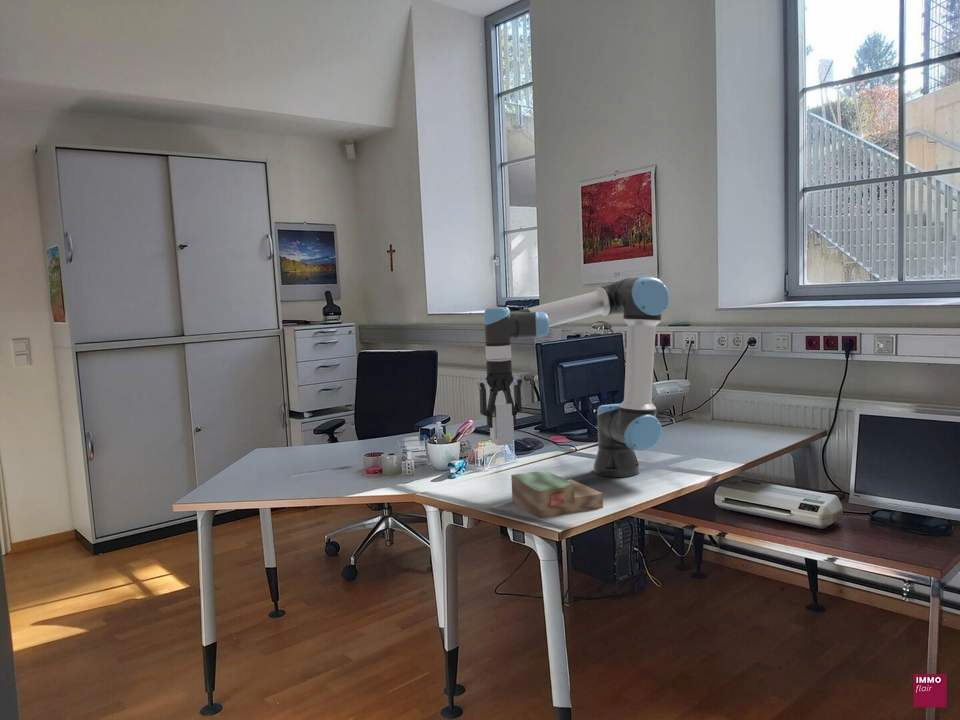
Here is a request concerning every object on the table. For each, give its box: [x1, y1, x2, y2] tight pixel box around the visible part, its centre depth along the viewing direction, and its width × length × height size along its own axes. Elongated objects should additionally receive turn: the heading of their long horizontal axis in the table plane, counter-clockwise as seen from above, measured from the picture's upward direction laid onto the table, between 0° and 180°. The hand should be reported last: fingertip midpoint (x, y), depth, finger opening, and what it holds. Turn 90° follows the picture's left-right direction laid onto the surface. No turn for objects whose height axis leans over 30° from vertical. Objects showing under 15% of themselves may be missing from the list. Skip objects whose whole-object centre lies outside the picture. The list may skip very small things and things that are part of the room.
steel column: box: [490, 401, 514, 446], centre depth 217 cm, size 5×5×12 cm
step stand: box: [510, 469, 604, 519], centre depth 209 cm, size 20×19×8 cm
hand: (502, 437), depth 217 cm, fingers closed on steel column, 5 cm apart
